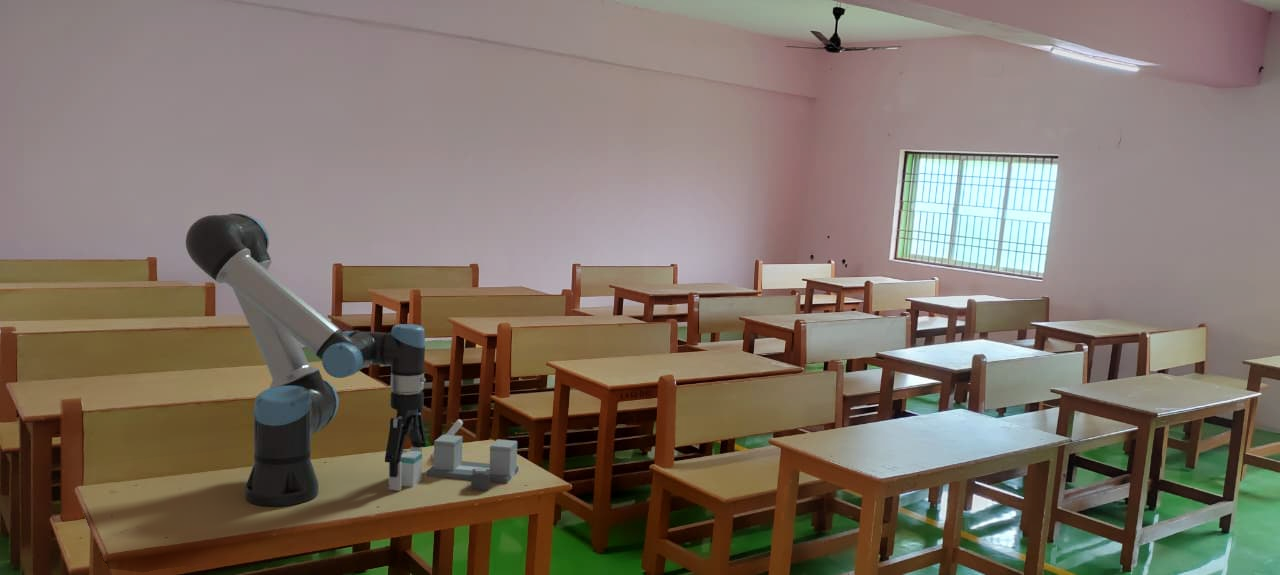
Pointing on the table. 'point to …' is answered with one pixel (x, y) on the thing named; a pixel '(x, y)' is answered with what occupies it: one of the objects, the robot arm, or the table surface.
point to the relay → (480, 479)
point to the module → (411, 467)
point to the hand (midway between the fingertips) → (405, 481)
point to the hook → (453, 429)
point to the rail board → (453, 466)
